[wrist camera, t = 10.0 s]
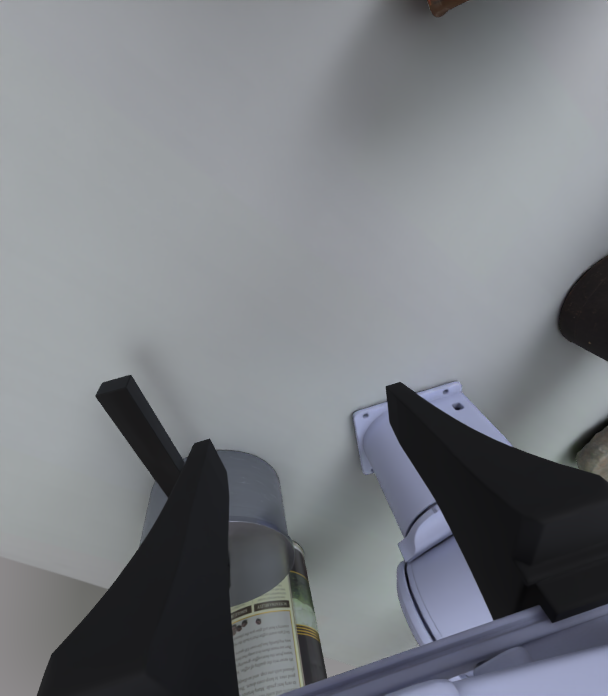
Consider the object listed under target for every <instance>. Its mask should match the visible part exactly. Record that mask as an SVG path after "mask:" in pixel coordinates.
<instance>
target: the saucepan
mask: <svg viewBox="0 0 608 696" xmlns="http://www.w3.org/2000/svg"><path fill="white" fill-rule="evenodd" d="M96 398H97V399H98V401H99V402H100V404H101V405H102V406H103V408H104V409H105V411H106V412H107V413H108V415H109V416H110V418H111V419H112V420H113V422H114V423H115V425H116V426H117V427H118V429H119V430H120V432H121V433H122V434H123V436H124V437H125V439H126V440H127V441H128V443H129V444H130V446H131V447H132V448H133V450H134V451H135V453H136V454H137V455H138V457H139V458H140V460H141V461H142V462H143V464H144V465H145V467H146V468H147V469H148V471H149V472H150V474H151V475H152V476H153V478H154V479H155V483H154V485H153V487H152V490H151V494H150V499H149V504H148V508H147V513H146V517H145V522H144V527H143V531H142V536H141V540H140V545H139V547H140V546H141V544H142V542H143V541H144V539H145V538H146V536H147V535H148V533H149V531H150V530H151V528H152V526H153V525H154V523H155V521H156V520H157V518H158V516H159V514H160V512H161V511H162V509H163V507H164V505H165V503H166V502H167V500H168V498H169V496H170V494H171V492H172V490H173V488H174V486H175V484H176V482H177V480H178V478H179V476H180V473H181V471H182V469H183V467H184V465H185V462H186V460H187V458H188V457H186V458H184V459H182V457H181V456H180V454H179V452H178V451H177V449H176V447H175V446H174V444H173V443H172V441H171V439H170V438H169V436H168V434H167V433H166V431H165V429H164V428H163V426H162V425H161V423H160V421H159V420H158V418H157V416H156V415H155V413H154V411H153V410H152V408H151V406H150V405H149V403H148V402H147V400H146V398H145V397H144V395H143V393H142V392H141V390H140V388H139V387H138V385H137V384H136V382H135V380H134V379H133V377H132V375H128V376H124V377H121V378H117V379H114V380H110V381H107V382H103V383H102V384H101V386H100V388H99V390H98V392H97V394H96ZM217 453H218V455H219V457H220V459H221V461H222V463H223V465H224V467H225V469H226V471H227V476H228V486H229V533H228V579H229V595H230V607H233V606H237V605H240V604H243V603H246V602H248V601H251V600H253V599H255V598H258V597H260V596H261V595H263V594H265V593H267V592H268V591H270V590H272V589H273V588H274V587H276V586H277V585H278V584H279V583H280V582H281V581H283V580H284V579H285V577H286V576H287V575H288V574H289V572H290V570H291V569H292V567H293V564H294V560H295V549H294V545H293V542H292V540H291V538H290V537H289V536H288V531H287V525H286V519H285V512H284V506H283V500H282V494H281V487H280V482H279V478H278V476H277V474H276V472H275V470H274V469H273V468H272V467H271V466H270V465H269V464H268V463H267V462H265V461H264V460H262V459H260V458H258V457H256V456H254V455H251V454H248V453H244V452H240V451H232V450H217Z"/></svg>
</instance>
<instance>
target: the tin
mask: <svg viewBox="0 0 608 696" xmlns="http://www.w3.org/2000/svg"><path fill="white" fill-rule="evenodd" d="M467 1H469V0H427V2H428V5H429V8H430V11H431V12H432V14H433V15H434V16H435V17H441V16H443V15H444V14H445V13H446V12H447V11H449V10H450V9H452V8H454V7H456V6H458V5H460V4H462V3H464V2H467Z"/></svg>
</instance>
